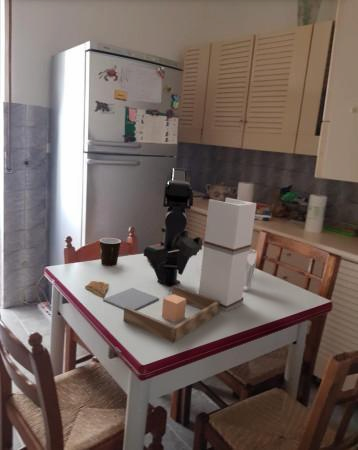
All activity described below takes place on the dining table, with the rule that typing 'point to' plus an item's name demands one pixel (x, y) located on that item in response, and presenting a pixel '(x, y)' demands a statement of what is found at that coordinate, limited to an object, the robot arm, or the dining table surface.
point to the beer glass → (249, 269)
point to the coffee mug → (109, 251)
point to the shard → (97, 287)
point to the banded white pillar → (226, 251)
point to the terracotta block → (174, 308)
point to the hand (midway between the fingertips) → (170, 277)
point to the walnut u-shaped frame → (182, 328)
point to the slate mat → (131, 299)
